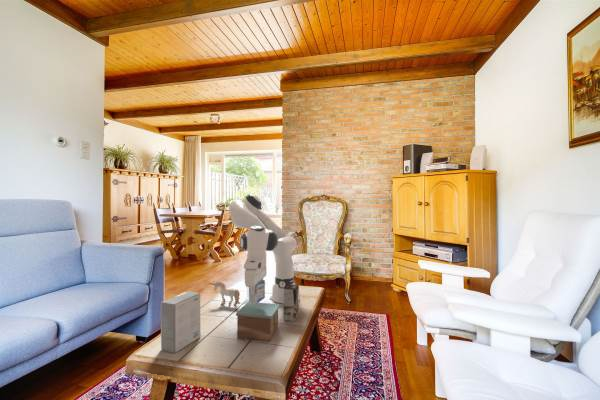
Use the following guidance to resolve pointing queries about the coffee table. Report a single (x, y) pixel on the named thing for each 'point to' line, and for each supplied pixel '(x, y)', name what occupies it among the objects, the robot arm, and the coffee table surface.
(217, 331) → the coffee table surface
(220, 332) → the coffee table surface
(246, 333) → the walnut box
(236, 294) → the unicorn figurine
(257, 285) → the medicine box
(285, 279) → the robot arm
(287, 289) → the coffee box
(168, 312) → the hard drive box
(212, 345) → the coffee table surface
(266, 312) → the lid
